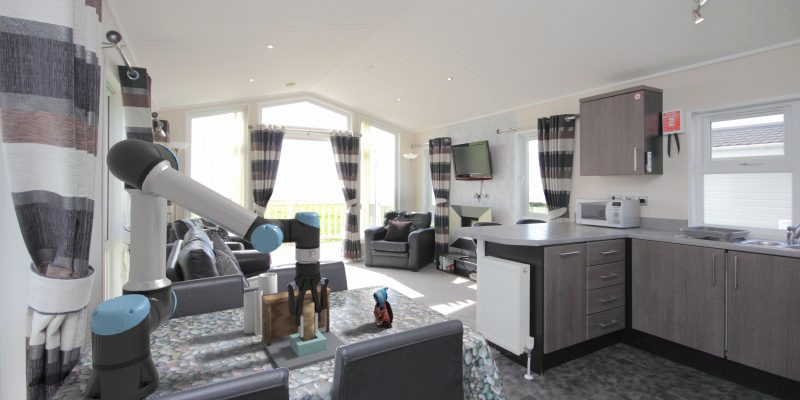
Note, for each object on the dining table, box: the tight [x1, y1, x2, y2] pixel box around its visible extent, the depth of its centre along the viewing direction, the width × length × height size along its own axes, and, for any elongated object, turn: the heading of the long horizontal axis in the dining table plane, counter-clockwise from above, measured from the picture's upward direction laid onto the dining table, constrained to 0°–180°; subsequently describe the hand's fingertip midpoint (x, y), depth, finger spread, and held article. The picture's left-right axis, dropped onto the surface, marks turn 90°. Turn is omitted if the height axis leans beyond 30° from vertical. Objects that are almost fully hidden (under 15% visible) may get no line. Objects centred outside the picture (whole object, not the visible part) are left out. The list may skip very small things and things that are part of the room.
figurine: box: [372, 286, 394, 329], centre depth 134 cm, size 10×7×15 cm
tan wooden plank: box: [261, 285, 332, 346], centre depth 123 cm, size 22×6×16 cm, turn 123°
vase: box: [243, 272, 278, 336], centre depth 129 cm, size 11×7×20 cm, turn 123°
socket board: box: [261, 327, 347, 372], centre depth 116 cm, size 22×24×4 cm
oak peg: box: [302, 301, 315, 342], centre depth 113 cm, size 4×4×14 cm
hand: (308, 333), depth 113 cm, fingers closed on oak peg, 4 cm apart
